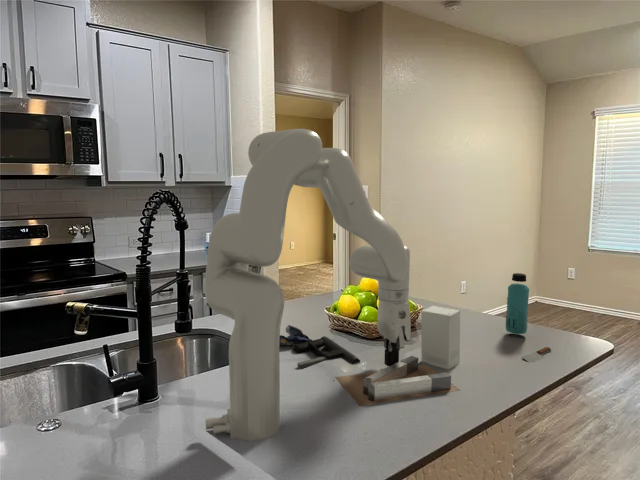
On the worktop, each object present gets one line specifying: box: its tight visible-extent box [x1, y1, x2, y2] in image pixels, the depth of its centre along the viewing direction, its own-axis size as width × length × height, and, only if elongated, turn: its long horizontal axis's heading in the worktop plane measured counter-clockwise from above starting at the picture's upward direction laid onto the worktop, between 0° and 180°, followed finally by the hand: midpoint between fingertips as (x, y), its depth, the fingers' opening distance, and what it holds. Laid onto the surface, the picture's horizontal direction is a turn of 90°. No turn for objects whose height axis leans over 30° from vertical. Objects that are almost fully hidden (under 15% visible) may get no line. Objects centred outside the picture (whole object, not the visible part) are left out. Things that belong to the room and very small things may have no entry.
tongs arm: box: [363, 355, 419, 394], centre depth 112 cm, size 20×2×3 cm, turn 136°
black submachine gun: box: [293, 336, 361, 370], centre depth 129 cm, size 3×20×16 cm
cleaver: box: [521, 346, 552, 364], centre depth 132 cm, size 13×2×5 cm
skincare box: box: [420, 305, 461, 370], centre depth 123 cm, size 8×7×16 cm
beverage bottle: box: [504, 272, 530, 335], centre depth 148 cm, size 6×7×20 cm
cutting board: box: [335, 364, 461, 407], centre depth 111 cm, size 25×15×2 cm, turn 108°
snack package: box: [279, 324, 313, 346], centre depth 141 cm, size 12×6×12 cm
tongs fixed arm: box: [368, 372, 452, 401], centre depth 105 cm, size 20×2×3 cm, turn 108°
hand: (391, 364), depth 119 cm, fingers closed
